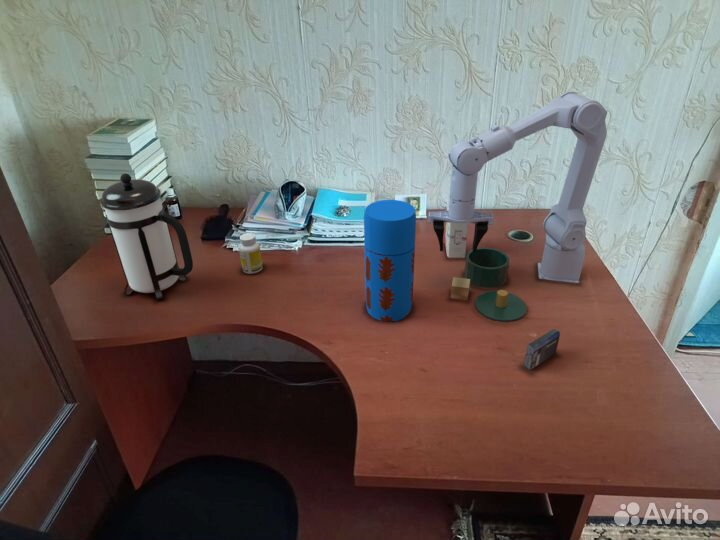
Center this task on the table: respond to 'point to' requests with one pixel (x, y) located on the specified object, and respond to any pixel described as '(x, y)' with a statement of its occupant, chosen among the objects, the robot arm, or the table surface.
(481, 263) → the tin
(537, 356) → the mini dv tape
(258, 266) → the supplement bottle
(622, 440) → the table surface
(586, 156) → the robot arm
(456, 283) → the block
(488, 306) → the tin lid
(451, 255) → the ink cartridge box
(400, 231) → the thermos
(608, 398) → the table surface
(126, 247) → the coffee press
